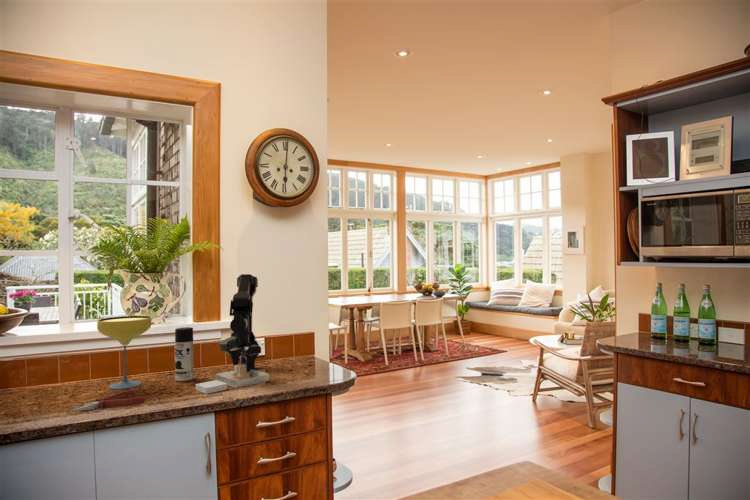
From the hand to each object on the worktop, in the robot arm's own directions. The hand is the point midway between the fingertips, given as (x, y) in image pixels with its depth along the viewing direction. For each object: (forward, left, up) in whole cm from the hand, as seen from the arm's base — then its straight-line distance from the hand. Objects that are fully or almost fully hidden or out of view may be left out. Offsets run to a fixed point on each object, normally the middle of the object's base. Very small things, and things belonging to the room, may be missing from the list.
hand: (241, 370), depth 185 cm
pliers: (-6, -45, -5) cm, 45 cm away
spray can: (-19, -14, -4) cm, 24 cm away
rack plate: (0, 0, -4) cm, 4 cm away
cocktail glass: (-27, -33, -4) cm, 43 cm away
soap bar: (+3, -14, -4) cm, 15 cm away
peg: (0, 0, -4) cm, 4 cm away
